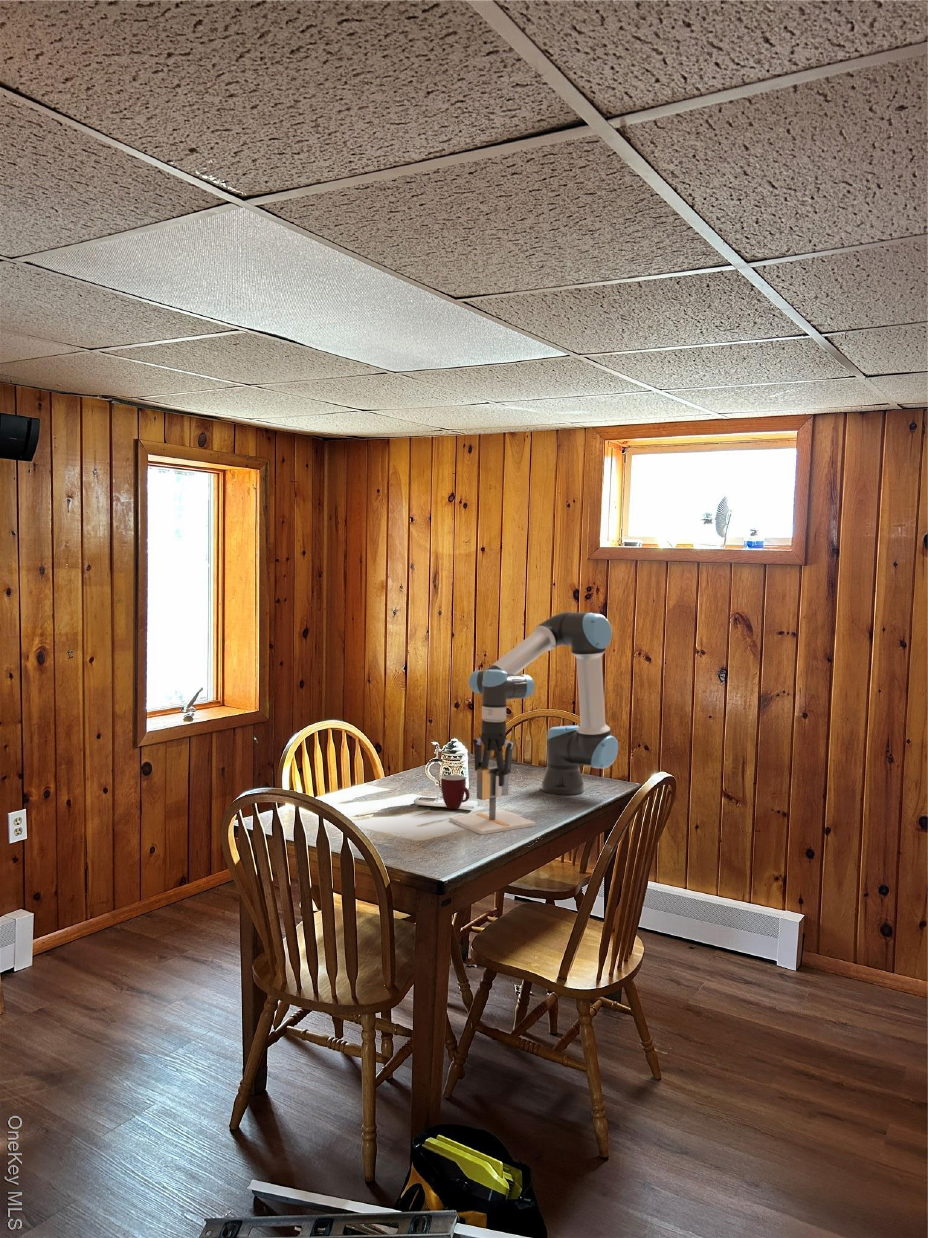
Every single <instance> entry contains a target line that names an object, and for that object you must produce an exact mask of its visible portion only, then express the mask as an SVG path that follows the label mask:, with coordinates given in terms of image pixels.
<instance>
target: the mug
mask: <svg viewBox="0 0 928 1238" xmlns="http://www.w3.org/2000/svg"><path fill="white" fill-rule="evenodd" d="M440 778H441V779H440V781H441V782H440V783H441V784H440V785H441V793H442V798H443V802H444V804H445V807H446V808H447V809H450V810H457V809H459V808H460V807H461V805H462V803H465V802H468V801H469V799H470V791H469V789H468V788H467V787H466V784H467V782H466V781H467V780H466V779H467V777H466V776H464V775H460V774H450V775H449V774H448V775H442V776H441V777H440ZM464 796H465V798H464Z"/></svg>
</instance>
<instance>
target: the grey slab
mask: <svg viewBox="0 0 928 1238" xmlns="http://www.w3.org/2000/svg"><path fill="white" fill-rule="evenodd" d="M509 774H510V773H509ZM509 774H507V775H505V777H504V786H502V794H501V796H500V797H502V796H509V776H510V775H509ZM497 775H498V769H497V765H494V766H488V768H480V769H477V771H476V799H477V800H481V801H484V800H489V799H490V798H494V797H495V796H496V776H497Z"/></svg>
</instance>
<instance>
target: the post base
mask: <svg viewBox="0 0 928 1238" xmlns="http://www.w3.org/2000/svg"><path fill="white" fill-rule="evenodd" d="M488 801H489V802H488V803H489V806H488V809H489V810H488V811H483V812H475V813H471V814H469V813H468V814H462V815H456V816H450V817H449V822H452V823H454V824H456V825H457V826H461V827H463V828H465V829H467V830H470V831H472V832H475V833H477V834H479V835H487V834H493V833H499V832H506V831H511V830H517V829H523V828H529V827H530V828H531V827H535V826H537V825H536V821H533V820H531V819H528V818H525V817H523V816H520V815H518V814H515V813H512V812H510V811H507V810H504V809H497V804H496V803H497V797H494V798H490V799H488Z"/></svg>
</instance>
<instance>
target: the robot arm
mask: <svg viewBox="0 0 928 1238" xmlns="http://www.w3.org/2000/svg"><path fill="white" fill-rule="evenodd" d="M612 631H613V630H612V626H611V623H610V621H609V620H608V619H607V618H606V616H604V615H603V614H600V613H594V612H571V611H563V612H559V613H557V614H555V615H553V616H550V617H549V618H547V619H545V620H543V622H541V623H540V624H538V625H537V626H536V627H535V628H534V629H533V631H532V633H531V634H530V635H529V636H527V637H526V638H525V639H523V640H522V641H521V642H520V643H518V644H517V645H516V646H515V647H513V648H512V649H511V650H509V651H508V652H506V653H505V654H504V655H503V656H502V657H500V658H499V659H498V660H497V661H495V662H494V663H492V665H490V666H488V668H485V670H482V669H480V670H474V671H472V673H471V674H470V676H469V678H468V685H469V687H470V690H471V691H472V692H473V693H475V694H480V695H482V696H481V697H482V698H481V699H482V700H481V702H482V703H481V705H482V706H481V718H482V720H481V734H480V737H477V738H475V739H474V738H473V739H472V745H473V747H474V748H473V749H474V750H473V751H474V752H473V753H474V771H475V772H477V769H480V768H488V767H489V762H490V757H491V753H492V751H493V752H494V755H495V761H496V766H497V769H498V775H497V776H496V796H495V797H496V798H500V797H502V796H501V794H502V786H504V777H505V775H507V774H510V773H511V770H512V760H513V758H512V756H513V749H514V747H515V743H514V741H513V742H511V741H509V740H508V738H507V736H506V732H507V722H506V719H507V703H508V702H507V701H508V700H514V699H515V700H516V699H522V700H523V699H525V698H530V697H531V696H532V695H533V694H534V691H535V686H536V685H535V684H536V683H535V680H534V679H533V677H531V675H529V674H525V673H524V674H523V673H520V672H521V671H523V670H524V669H525V668H526V667H528V666H529V665H531V664H532V663H533V662H534V661H535V660H536V659H538V658H539V657H540V656H542V655H543V654H544V653H545V652H548V651H552V650H554V649H555V648H557V647H560V646H569V647H570V648H571V650H570V651H571V654H572V655H573V656H574V657H575V659H576V676H577V688H578V705H579V721H580V723H579V725H560V726H552V727H550V728H549V729H548V730H547V737H546V770H545V772H544V776H543V778H542V779H543V780H542V781H541V790H542V791H543V792H545V793H549V794H552V795H560V796H561V795H565V796H566V795H567V796H568V795H578V794H581V793H582V794H583V792H584V791H585V785H584V784H585V783H584V781H583V778H582V773H581V770H580V766H585V767H590V768H594V769H607V768H609V767H610V766H612V765H613V763H614V762H615V760H616V759H617V756H618V753H619V742H618V740H617V738H616V737H615V736H613V735H611V727H610V726H608V724H606V712H605V711H606V709H605V697H604V696H605V695H604V677H603V676H604V675H603V663H602V662H603V661H602V660H603V659H602V657H603V655H604V654H605V653H606V648H607V647H609V645H610V644H611V640H612V637H613V632H612ZM482 744H483V752H482ZM503 747H505V752H504V751H503ZM503 752H504V755H503ZM482 753H483V755H482Z"/></svg>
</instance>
